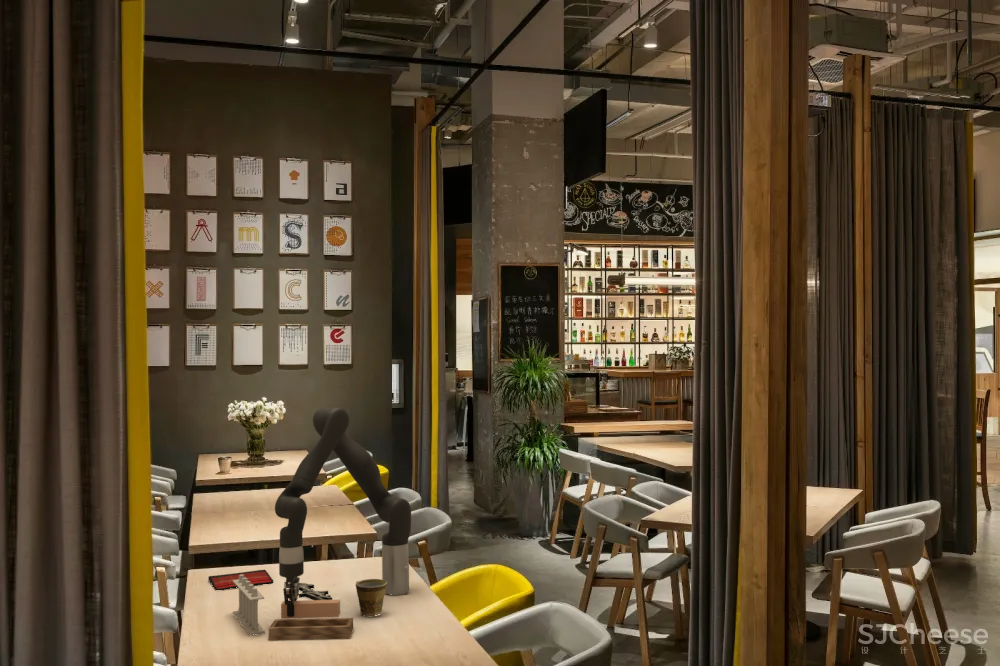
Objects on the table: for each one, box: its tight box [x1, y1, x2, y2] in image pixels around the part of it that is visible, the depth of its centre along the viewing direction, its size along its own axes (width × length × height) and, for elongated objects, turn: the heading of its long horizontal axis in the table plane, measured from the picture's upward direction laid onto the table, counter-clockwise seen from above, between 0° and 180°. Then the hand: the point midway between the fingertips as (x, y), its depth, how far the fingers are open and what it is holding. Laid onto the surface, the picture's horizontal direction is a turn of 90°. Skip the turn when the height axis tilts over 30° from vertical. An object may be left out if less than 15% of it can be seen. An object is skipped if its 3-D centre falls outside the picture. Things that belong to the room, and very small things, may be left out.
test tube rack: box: [232, 574, 266, 636], centre depth 279 cm, size 25×4×13 cm, turn 29°
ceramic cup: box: [355, 578, 387, 617], centre depth 288 cm, size 13×10×10 cm
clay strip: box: [280, 599, 341, 619], centre depth 280 cm, size 18×4×4 cm, turn 93°
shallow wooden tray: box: [268, 617, 354, 641], centre depth 268 cm, size 24×9×3 cm, turn 92°
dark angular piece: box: [298, 582, 333, 600], centre depth 310 cm, size 28×2×10 cm
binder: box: [207, 569, 274, 591], centre depth 326 cm, size 16×2×21 cm
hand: (292, 613), depth 280 cm, fingers closed on clay strip, 3 cm apart
